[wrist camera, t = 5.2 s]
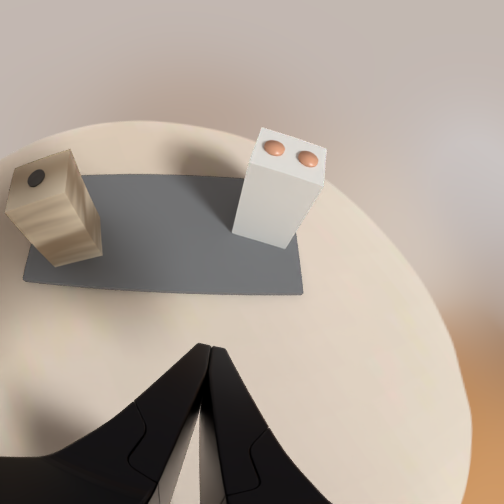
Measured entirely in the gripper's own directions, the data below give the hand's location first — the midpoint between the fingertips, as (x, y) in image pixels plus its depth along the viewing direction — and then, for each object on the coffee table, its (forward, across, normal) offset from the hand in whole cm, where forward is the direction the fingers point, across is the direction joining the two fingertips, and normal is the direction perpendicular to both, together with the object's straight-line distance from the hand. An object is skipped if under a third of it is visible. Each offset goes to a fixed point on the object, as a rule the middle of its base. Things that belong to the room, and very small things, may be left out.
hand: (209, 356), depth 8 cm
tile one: (+15, +14, +4) cm, 20 cm away
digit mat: (+17, +7, +2) cm, 19 cm away
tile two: (+19, -3, 0) cm, 19 cm away
